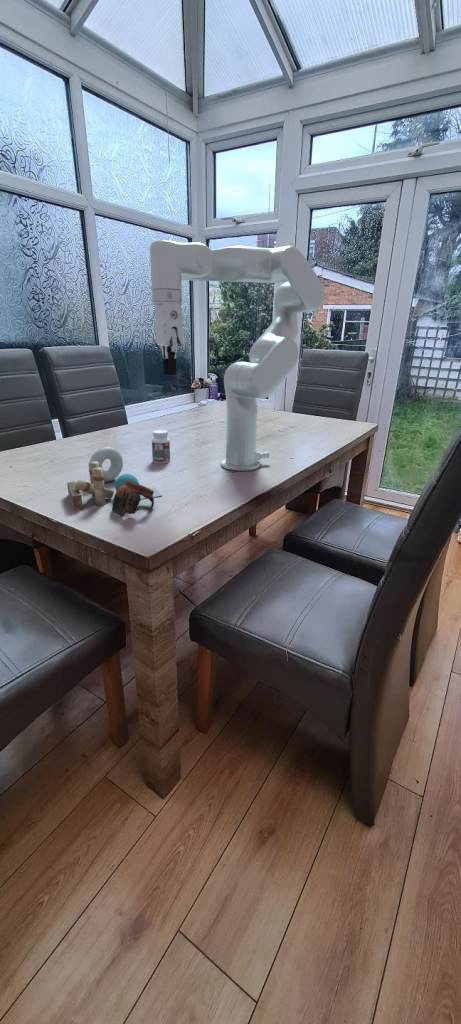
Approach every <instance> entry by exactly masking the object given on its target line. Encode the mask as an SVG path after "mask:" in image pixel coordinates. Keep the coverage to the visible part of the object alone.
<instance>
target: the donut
mask: <svg viewBox="0 0 461 1024" xmlns="http://www.w3.org/2000/svg"><path fill="white" fill-rule="evenodd" d="M105 460H109V461H110V465H109V467H108V468H107V469H103V476H104V483H107V482H111V481H114V480H115V479H117V478H118V477H119V476H120V474H121V473H122V470H123V464H124V461H123V457H122V455H121V453H120V452H119V450H117V449H116V448H114V447H112V446H103V447H100V448H98V449H97V450H96V451H94V453H93V454H92V455H91V457H90V460H89V462H93V461H96V462H98V463H99V467H100V468H103V463H104V462H105Z"/></svg>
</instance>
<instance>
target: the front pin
mask: <svg viewBox="0 0 461 1024" xmlns="http://www.w3.org/2000/svg"><path fill="white" fill-rule="evenodd" d="M75 482H76V485H75V489H77V490H79V491H81V492H84V493H88V494H91V495H92V494H94V495H95V491H94V484H91V482H90V481H89V482H88V481H84V480H80V479H77V481H75ZM104 489H105V499H109V500H112V498H114V497H113V496H114V495H115V491H114V489H112V488H107V487H105V486H104Z"/></svg>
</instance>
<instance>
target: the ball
mask: <svg viewBox="0 0 461 1024" xmlns="http://www.w3.org/2000/svg"><path fill="white" fill-rule="evenodd" d="M126 480H129V481H132V482H135V483H137V484H139V485H140V483H139V480H138V478H137V477H136V476H135V475H132V474H131V473H124V474H121V475H118V477H116V480H115V483H114V489H115V492H116V491H117V490H118V488H119V487H120V486H122V485H124V484H125V483H126ZM125 497H127V495H126V494H125Z"/></svg>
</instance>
